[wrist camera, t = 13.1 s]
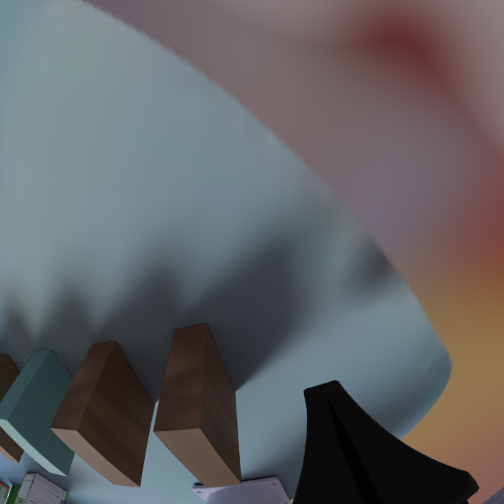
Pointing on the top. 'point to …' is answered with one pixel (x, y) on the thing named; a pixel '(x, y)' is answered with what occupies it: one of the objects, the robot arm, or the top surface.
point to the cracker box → (3, 492)
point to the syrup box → (40, 491)
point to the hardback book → (13, 494)
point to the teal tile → (38, 411)
